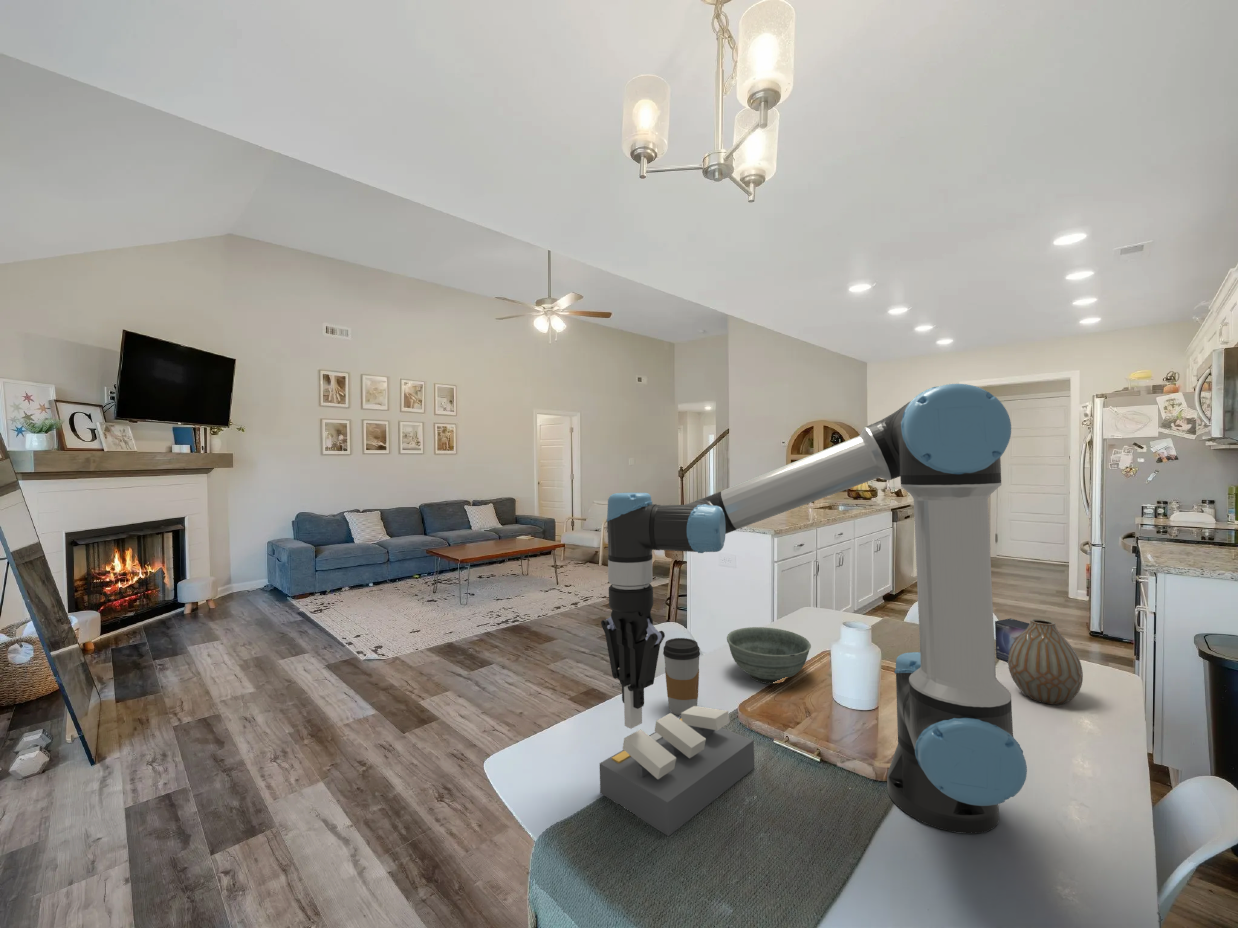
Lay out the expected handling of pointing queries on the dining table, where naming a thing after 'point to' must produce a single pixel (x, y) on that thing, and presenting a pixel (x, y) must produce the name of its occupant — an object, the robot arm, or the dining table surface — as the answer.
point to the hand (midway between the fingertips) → (633, 724)
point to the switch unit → (678, 779)
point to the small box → (1007, 636)
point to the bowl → (768, 652)
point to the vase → (1045, 664)
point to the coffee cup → (681, 673)
